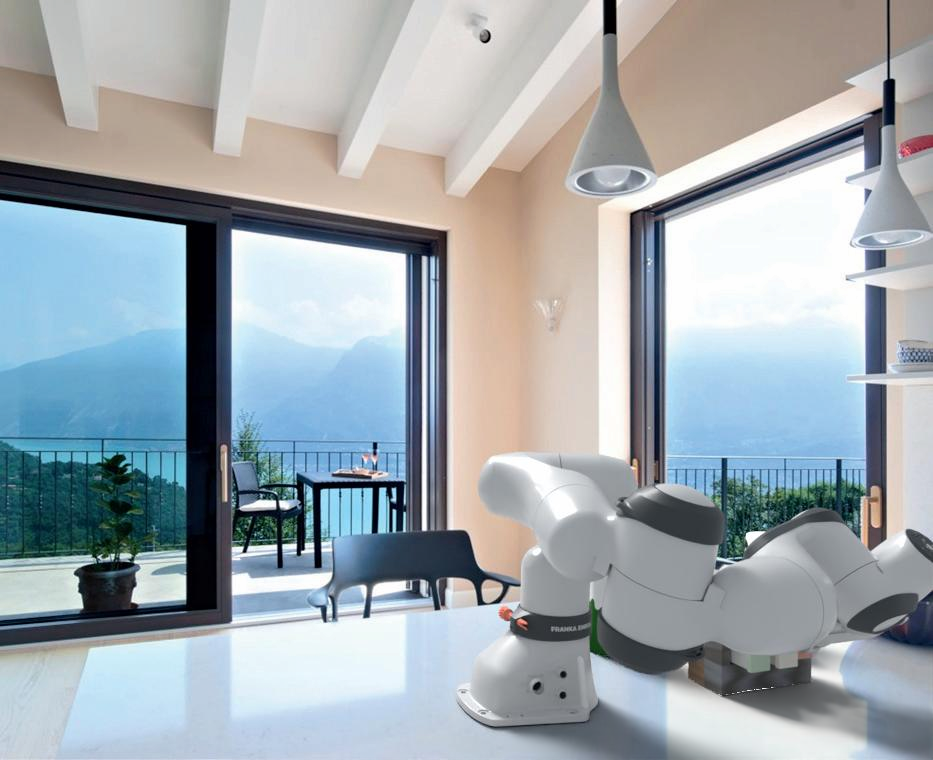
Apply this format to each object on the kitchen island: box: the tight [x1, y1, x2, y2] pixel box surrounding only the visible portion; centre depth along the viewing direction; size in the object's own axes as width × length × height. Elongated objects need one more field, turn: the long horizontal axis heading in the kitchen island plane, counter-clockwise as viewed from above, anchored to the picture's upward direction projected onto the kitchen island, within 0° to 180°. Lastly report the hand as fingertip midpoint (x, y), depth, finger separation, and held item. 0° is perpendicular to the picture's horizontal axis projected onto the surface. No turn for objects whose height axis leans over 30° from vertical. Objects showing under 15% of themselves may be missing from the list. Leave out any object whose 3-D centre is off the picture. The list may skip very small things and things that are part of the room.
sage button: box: [730, 649, 770, 673], centre depth 110 cm, size 4×5×4 cm
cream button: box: [770, 652, 798, 669], centre depth 112 cm, size 4×5×4 cm
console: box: [687, 641, 812, 696], centre depth 118 cm, size 20×8×12 cm, turn 112°
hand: (806, 648), depth 114 cm, fingers closed, pressing on coral button
